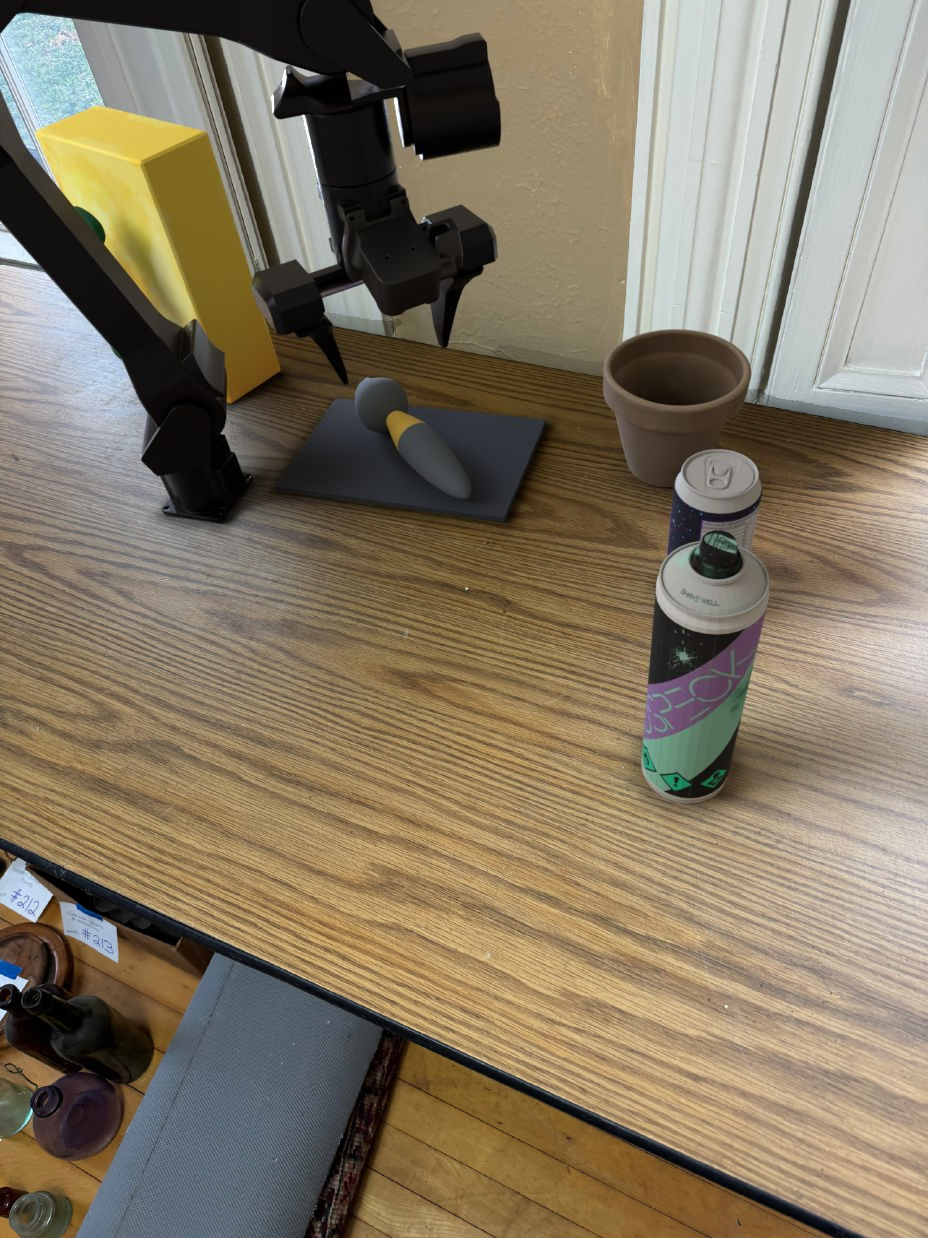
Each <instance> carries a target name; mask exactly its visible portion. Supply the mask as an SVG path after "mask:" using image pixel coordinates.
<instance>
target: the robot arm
mask: <svg viewBox="0 0 928 1238" xmlns="http://www.w3.org/2000/svg"><path fill="white" fill-rule="evenodd" d="M374 11H375V10H374V7H373V5H372V2H371V0H0V35H1V34H2V33H3V32H4V30H6V28H7V27H8V26H9V24H10V23H11V22H12V20H13V19H14V18H15V17H16V16H17V15H21V14H31V15H40V16H46V17H47V16H48V17H54V18H55V17H56V18H64V19H72V20H80V21H88V22H95V23H96V22H97V23H104V24H111V25H118V26H119V25H120V26H129V27H133V28H135V27H136V28H145V29H150V30H151V29H152V30H160V31H166V32H167V31H168V32H175V33H184V34H191V35H199V36H207V37H214V38H216V37H217V38H220V39H224V40H227V41H229V42H233V43H236V44H239V45H241V46H243V47H245V48H248V49H250V50H252V51H254V52H256V53H258V54H260V55H263V56H264V57H267V58H269V59H271V60H274V61H275V62H276V61H277V62H280V63H283V64H285V65H286V66H285V67H284V73H283V77H282V80H281V82H280V83H279V84H278V86H277V87H276V89H275V90H274V91H273V93H272V95H271V101H272V113H273V116H274V118H275V119H276V120H287V119H291V118H296V117H297V118H298V117H302V118H303V122H304V127H305V131H306V135H307V139H308V145H309V148H310V153H311V157H312V161H313V166H314V169H315V174H316V179H317V182H315V187H316V191H317V195H318V198H319V199H320V200H321V201H322V205H323V209H324V214H325V217H326V222H327V226H328V231H329V235H330V237H328V239H327V240H328V243H329V248H330V251H331V253H333V254H334V257H335V261H336V263H335V264H332V265H329V266H326V267H324V268H321V269H318V270H315V271H312V272H308V271H307V270H306V269H305V267H303V265H302V264H301V263H300V262H299V261H298V260H297V259H296V258H294V259H292V260H288V261H286V262H282V263H279V264H277V265H274V266H270V267H267V268H265V269H261V270H258V271H255V272H254V273H253V275H252V278H253V279H252V282H251V289H252V292H253V295H254V298H255V302H256V305H257V307H258V309H259V310H260V311H261V313H262V314H263V316H264V317H265V320H266V322H268V324H269V325H270V327H271V328H272V330H273V331H274V332H275V333H276V335H282V336H289V335H291V334H292V335H293V337H295V338H297V339H304V338H307V337H309V338H310V339H311V340H312V341H313V342H314V343H315V345H316V346H317V347H318V349H319V351H320V352H321V353H322V355H323V356H324V358H325V359H326V361H327V362H328V364H329V365H330V367H331V368H332V371H334V373H335V375H337V377H338V378H339V380H340V381H341V383H342V384H343V385H344V386H346V385H349V384H350V382H349V377H348V376H349V375H348V372H347V368H346V365H345V363H344V360H343V357H342V354H341V352H340V349H339V346H338V344H337V341H336V339H335V335H334V324H333V322H332V321H331V320H330V319H329V317H328V316H327V315H326V314H325V313H326V307H325V304H324V300H323V299H324V298H327V297H330V296H333V295H337V294H339V293H341V292H344V291H347V290H350V289H353V288H355V287H359V286H362V285H365V287H366V288H367V290H368V292H369V293H370V295H371V297H372V298H373V300H374V302H375V304H376V307H377V308H378V310H379V311H380V313H382V314H383V315H385V316H388V317H397V316H400V315H403V314H404V313H405V312H406V311H408V310H411V309H414V308H417V307H420V306H423V305H430V311H431V317H432V318H431V319H432V325H433V329H434V333H435V336H436V340H437V343H438V345H439V346H440V347H441V348H442V349H447V348H448V346H449V342H450V338H451V334H452V329H453V325H454V322H455V317H456V313H457V308H458V305H459V301H460V299H461V296H462V293H463V291H464V288H465V287H466V286H467V285H468V284H469V283H470V282H472V280H473V279H474V278H476V277H479V276H481V275H482V274H483V273H484V270H485V266H487V265H489V264H490V265H491V264H493V263H495V262H496V261H497V259H498V258H499V253H498V251H499V250H498V242H497V241H498V240H497V235H496V233H495V231H494V228H493V226H492V225H490V224H489V223H488V222H486V220H484V219H482V218H481V217H480V216H478V215H477V214H475V213H474V212H473V211H472V210H470V209H469V208H467V206H464V204H458V205H455V206H452V207H448V208H445V209H443V210H439V211H436V212H434V213H431V214H428V215H424V216H423V218H422V220H421V223H418V222H417V220H416V218H415V216H414V214H413V212H412V210H411V206H410V200H409V198H408V196H407V189H406V188H405V187H404V186H403V185H402V184H400V180H399V179H400V178H399V174H398V168H397V161H396V156H395V150H394V144H393V138H392V131H391V125H390V119H389V113H388V107H387V101H386V100H390V99H393V103H394V108H395V115H396V121H397V126H398V131H399V135H400V136H399V137H400V140H401V144H402V148H403V149H406V148H411V147H413V151H414V152H413V153H414V156H419V158H420V160H421V162H425V161H430V160H437V159H440V158H445V157H451V156H457V155H462V154H467V153H472V152H478V151H482V150H489V149H494V148H498V147H499V146H500V145H501V142H502V141H501V140H502V114H501V104H500V101H499V99H498V97H497V96H496V88H495V82H494V77H493V71H492V68H491V65H490V64H491V63H490V61H489V51H488V42H487V41H486V39H485V38H484V36H483V35H482V34H481V33H480V32H479V31H477V32H472V33H467V34H463V35H460V36H458V37H456V38H454V39H451V40H448V41H442V42H437V43H432V44H426V45H421V46H416V47H411V48H405V49H403V48H402V45H401V43H400V41H399V39H398V37H397V35H396V32H395V31H394V29H393V28H391V29H389V28H388V26H386V25H385V23H384V22H383V21H382V20H381V18H379V17H378V16H377V14H376V13H375V12H374ZM295 67H296V68H299V69H301V70H304V71H308V72H311V73H314V74H315V75H310V76H309V75H308V76H307V75H304V74H303V73H300V72H299V71H298V70H297V69H296V68H295ZM347 73H350V74H352V75H353V76H355V77H357V78H358V79H348V75H347ZM24 142H25V141H24V140H23V139H22V136H21V134H20V131H19V130H18V127H17V125H16V122H15V120H14V117H13V116H12V112H11V111H10V108H9V105H8V103H7V101H6V99H5V97H4V94H3V92H2V90H1V89H0V223H1V225H3V226H4V227H5V229H6V230H7V231H8V232H9V234H11V236H12V237H13V238H14V239H15V240H16V241H17V243H19V244H20V246H21V247H22V248H23V250H25V251H26V253H27V254H28V255H29V256H30V257H31V258H32V259H33V260H34V262H35V263H36V264H37V265H38V266H39V268H41V269H42V270H43V272H44V273H45V274H46V275H47V276H48V277H49V278H50V279H51V281H52V282H53V283H54V284H55V285H56V286H57V288H58V289H59V290H60V291H61V292H62V293H63V294H64V295H65V297H66V298H67V299H68V300H69V301H70V302H71V303H72V304H73V306H74V307H75V308H76V309H77V310H78V311H79V313H81V315H82V316H83V317H84V318H85V319H86V320H87V322H88V323H89V324H90V325H91V326H92V327H93V329H95V330H96V332H97V333H98V334H99V335H100V336H101V337H102V339H103V340H104V341H105V342H106V343H107V344H108V345H109V346H110V348H111V347H112V348H113V349H114V351H115V352H116V353H117V354H118V355H119V357H120V358H121V359H120V361H121V362H122V363H123V366H124V369H125V371H126V373H127V376H128V377H129V380H130V382H131V385H132V387H133V389H134V392H135V394H136V396H137V398H138V400H139V403H140V404H141V406H142V407H143V409H144V410H145V412H146V418H145V425H144V433H143V434H144V435H143V442H142V448H141V456H140V461H141V463H143V464H144V465H145V466H146V467H147V469H149V471H151V472H152V473H153V474H154V475H155V476H156V477H160V480H161V482H162V484H163V486H164V488H165V490H166V493H167V494H168V496H169V498H168V499H167V500H166V502H165V503H164V505H163V506H162V507H161V512H162V514H163V515H165V516H170V517H178V518H185V519H190V520H198V521H203V522H209V523H217V524H221V523H223V522H225V521H226V520H227V518H228V517H229V515H230V514H231V513H232V511H233V510H234V509H235V507H236V506H237V504H238V503H239V502H240V500H241V499H242V497H243V496H244V495H245V493H246V492H247V490H248V489H249V488H250V486H251V485H252V483H253V482H254V480H255V478H254V475H253V473H249V472H244V471H243V469H242V468H241V465H240V462H239V460H238V457H237V454H236V453H235V451H232V450H231V447H230V444H229V442H228V440H227V437H226V434H224V433H222V432H223V431H224V430H225V427H226V424H227V418H228V414H227V413H228V409H227V408H228V402H227V372H226V368H225V353H224V352H223V351H221V350H220V349H218V348H217V347H215V346H214V345H213V344H212V342H211V341H210V340H209V339H208V337H207V336H206V334H205V332H204V330H203V328H202V326H201V325H200V323H199V322H198V321H197V320H196V319H193V320H192V321H190V322H189V323H188V324H187V325H186V326H184V327H181V326H179V325H177V324H175V323H174V322H172V321H170V320H168V319H166V318H165V317H164V316H162V315H161V314H160V313H159V312H158V311H157V309H156V308H155V307H154V306H153V304H152V303H151V302H150V301H149V299H148V298H147V297H146V296H145V294H144V293H143V292H142V291H141V289H140V288H139V287H138V286H137V284H136V283H135V282H134V281H133V279H132V278H131V277H130V276H129V274H128V273H127V272H126V271H125V270H124V268H123V267H122V266H121V265H120V263H119V262H118V261H117V260H116V258H115V257H114V256H113V255H112V253H111V252H110V251H109V250H108V248H107V247H106V246H105V245H104V243H103V242H102V241H101V240H100V238H99V237H98V236H97V235H96V233H95V232H94V231H93V230H92V229H91V227H90V226H89V225H88V224H87V222H86V221H85V220H84V219H83V217H82V216H81V215H80V214H79V212H78V211H77V210H76V209H75V207H74V206H73V205H72V204H71V202H70V201H69V200H68V199H67V197H66V196H65V195H64V194H63V192H62V191H61V190H60V188H59V186H58V184H57V183H56V182H55V181H54V180H53V179H52V177H51V176H50V175H49V173H47V171H46V169H44V168H43V166H42V165H41V163H39V161H38V160H37V159H36V158H35V156H34V155H33V153H31V151H30V150H29V149H28V147H27V145H26V144H25V143H24Z"/></svg>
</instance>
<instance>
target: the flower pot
mask: <svg viewBox="0 0 928 1238" xmlns="http://www.w3.org/2000/svg"><path fill="white" fill-rule="evenodd" d="M602 376H603V377H602V393H603V398H604V400H605V403H606V404H607V406H608V407H609V408H610V410H612V412H613V413H614V415H615V420H616V424H617V425H616V426H617V429H618V434H619V438H620V442H621V447H622V450H623V454H624V457H625V460H626V464H627V467H628V469H629V471H630V472H631V474H632V475H633V476H634V477H635V478H636V479H637V480H639V481H640V482H642V483H644V484H647V485H648V486H653V487H658V488H673V487H674V482H675V479H676V477H677V476H678V474H679V473H680V472H681V469H682V466H683V464H684V463H685V461H686V460H687V459H688V458H689V457H691V456H693V455H694V454H696V453H699V452H702V451H706V450H712V449H716V446H717V443H718V441H719V439H720V437H721V434H722V433H723V430H724V427H725V425H726V423H727V422H728V421H730V420H731V419H733V417H735V416H736V415H737V414H738V413H739V411H740V410H741V409H742V407H743V406H744V404H745V401H746V398H747V394H748V391H749V386H750V382H751V379H752V367H751V364H750V360H749V359H748V357H747V356H746V354H745V353H744V352H743V351H742V350H741V349H740V348H739V347H738V346H737V345H735V344H734V343H732V342H730V341H728V340H727V339H724V338H723V337H720V336H717V335H715V334H711V333H708V332H705V331H699V330H692V329H684V328H683V329H681V328H679V329H677V328H676V329H675V328H671V329H669V328H668V329H659V330H652V331H648V332H643V333H639V334H637V335H634V336H632V337H629V338H627V339H625V340H624V341H622V342H620V343H619V344H616V346H615V347H614V348H612V349H611V350H610V352H609V353H608V355H607V356H606V358H605V359H604V362H603V368H602Z"/></svg>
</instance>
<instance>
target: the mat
mask: <svg viewBox="0 0 928 1238" xmlns="http://www.w3.org/2000/svg"><path fill="white" fill-rule="evenodd" d="M407 414H408V415H411V416H413V417H415V418H417V419H419V420H421V421H423V422H425V423H426V424H428V425H429V426H430V427H431V428H432V429H433V430H434V431H435V432H436V433H437V434H438V435H439V436H440V437H441V438H442V439H443V440H444V442H445V443H446V444H447V445H448V446H449V448H450V449H451V450H452V452H453V453H454V455H455V456H456V457H457V459H458V461H459V462H460V464H461V465H462V467H463V469H464V471H465V473H466V474H467V477H468V479H469V482H470V485H471V491H472V493H471V496H470V498H468V499H459V498H455V497H453V496H451V495H449V494H447V493H445V492H443V491H442V490H440V489H438V488H437V487H435V486H434V485H433V484H431V483H430V482H429V481H427V480H426V479H425V478H424V477H422V476H421V475H420V474H419V473H418V472H417V471H416V470H414V469H413V468H412V467H411V466H410V465H409V464H408V462H407V461H406V460H405V459H404V458H403V457H402V456H401V454H400V453H399V451H398V449H397V447H396V445H395V443H394V441H393V439H392V436H391V434H390V432H384V433H379V432H374V431H371V430H369V429H368V428H366V427H365V426H364V425H363V424H362V423H361V421H360V420H359V418H358V416H357V414H356V410H355V399H349V398H339V397H336V398H335V399H334V400H333V402H332V403H331V405H330V406H329V408H328V409H327V411H325V413H324V415H323V416H322V418H321V419H320V420H319V422H318V423H317V425H316V426H315V428H314V429H313V430H312V432H311V433H310V435H309V436H308V437H307V439H306V440H305V442H304V444H303V445H302V446H301V448H300V449H299V450H298V452H297V454H296V455H295V457H294V458H293V459H292V460H291V462H290V464H289V465H288V467H286V470H285V471H284V472H283V474H282V475H281V476H280V478H279V480H278V481H277V482H276V483H275V485H274V488H275V490H276V492H281V493H288V494H295V495H303V496H308V497H309V496H310V497H317V498H323V499H324V498H325V499H332V500H339V501H345V502H354V503H360V504H365V505H375V506H382V507H389V508H397V509H404V510H410V511H418V512H425V513H431V514H439V515H444V516H445V515H446V516H453V517H460V518H467V519H474V520H481V521H487V522H488V521H489V522H495V523H503V524H505V523H506V521H507V519H508V516H509V515H510V512H511V509H512V507H513V504H514V502H515V500H516V497H517V495H518V493H519V490H520V488H521V486H522V484H523V481H524V479H525V476H526V474H527V472H528V469H529V467H530V465H531V463H532V461H533V458H534V456H535V453H536V451H537V448H538V446H539V444H540V441H541V438H542V437H543V434H544V432H545V429H546V427H547V423H548V422H547V419H544V418H537V417H535V418H534V417H525V416H516V415H506V414H498V413H497V414H496V413H495V414H494V413H487V412H476V411H466V410H457V409H449V408H439V407H428V406H427V407H426V406H416V405H410V404H408V413H407Z"/></svg>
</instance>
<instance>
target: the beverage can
mask: <svg viewBox="0 0 928 1238" xmlns="http://www.w3.org/2000/svg"><path fill="white" fill-rule="evenodd" d="M672 488H673V490H672V498H671V508H670V509H671V510H670V511H671V512H670V520H669V531H668V541H667V552H666V557H667V556H668V555H669V554H670V553H671V552H672V551H674V550H676V549H677V548H679V547H681V546H683V545H686V544H688V543H693V542H697V541H702V538H703V536H704V535H705V534H706V533H708V532H710V531H714V530H722V531H726V532H729V533H730V534H732V535H733V536H734V537H735V539H736V541H737V543H738V546H740V547H742V548H744V549H746V550H748V551H750V552H751V553H752V547H753V542H754V538H755V533H756V527H757V521H758V517H759V511H760V506H761V502H762V496H763V484H762V481H761V479H760V472H759V469H758V466H757V465H756V463H755V462H754V461H753V460H752V459H750V458H749V457H748V456H746V455H744V454H743V453H739V452H737V451H735V450H730V449H722V448H714V449H712V450H706V451H702V452H699V453H696V454H694V455H693V456H691V457H689V458H688V459H687V460H686V461H685V463H684V464H683V466H682V469H681V472H680V473H679V474H678V476H677V477H676V479H675V482H674V487H672Z"/></svg>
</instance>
